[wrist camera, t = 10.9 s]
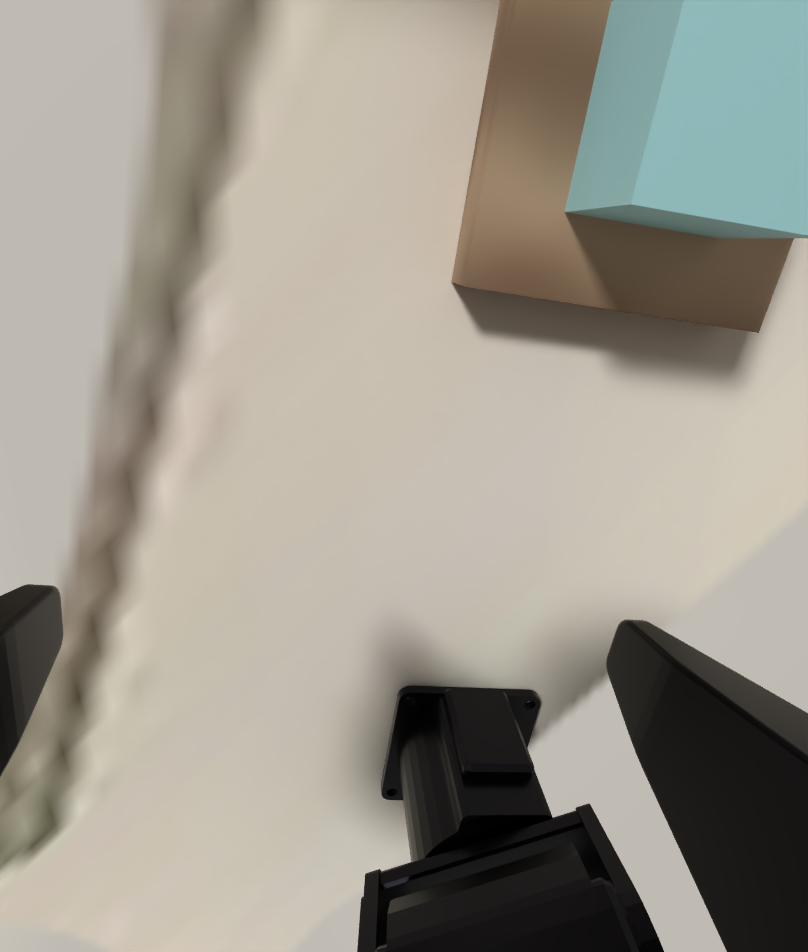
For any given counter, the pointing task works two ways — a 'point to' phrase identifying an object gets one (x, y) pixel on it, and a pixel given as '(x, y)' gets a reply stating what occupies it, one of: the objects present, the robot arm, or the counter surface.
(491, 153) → the walnut base
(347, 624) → the counter surface
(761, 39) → the teal block
